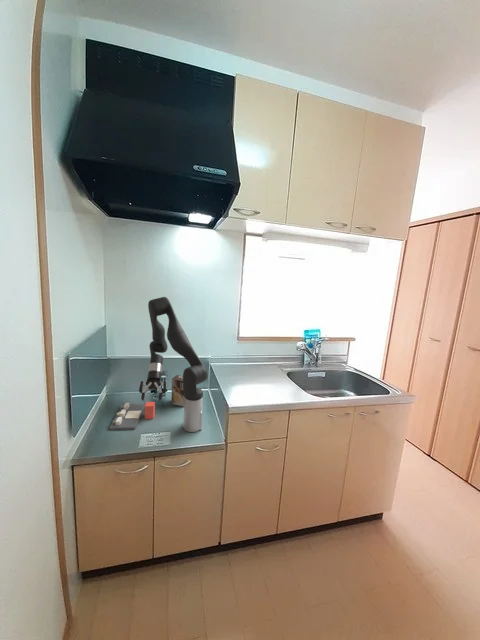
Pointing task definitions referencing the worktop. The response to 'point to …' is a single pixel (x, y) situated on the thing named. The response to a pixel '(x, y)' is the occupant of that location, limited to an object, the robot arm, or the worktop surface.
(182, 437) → the worktop surface
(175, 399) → the coffee box
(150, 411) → the coral red square block
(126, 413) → the panel
